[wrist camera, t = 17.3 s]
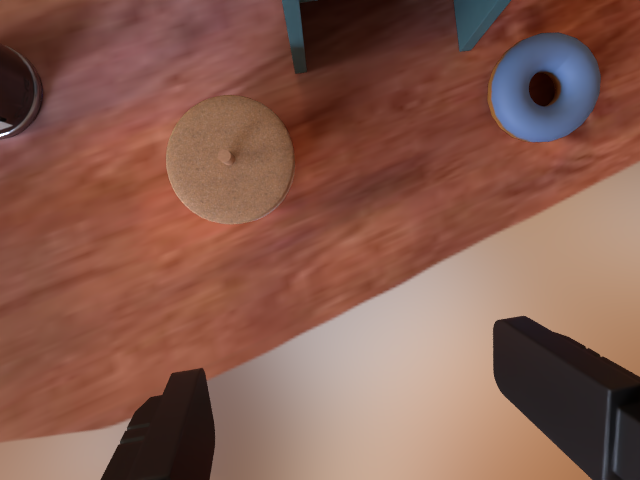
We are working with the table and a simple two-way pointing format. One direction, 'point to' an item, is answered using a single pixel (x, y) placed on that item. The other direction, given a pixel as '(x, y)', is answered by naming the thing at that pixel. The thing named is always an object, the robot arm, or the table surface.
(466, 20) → the teal shelf unit
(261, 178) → the trinket box
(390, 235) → the table surface
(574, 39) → the doughnut
